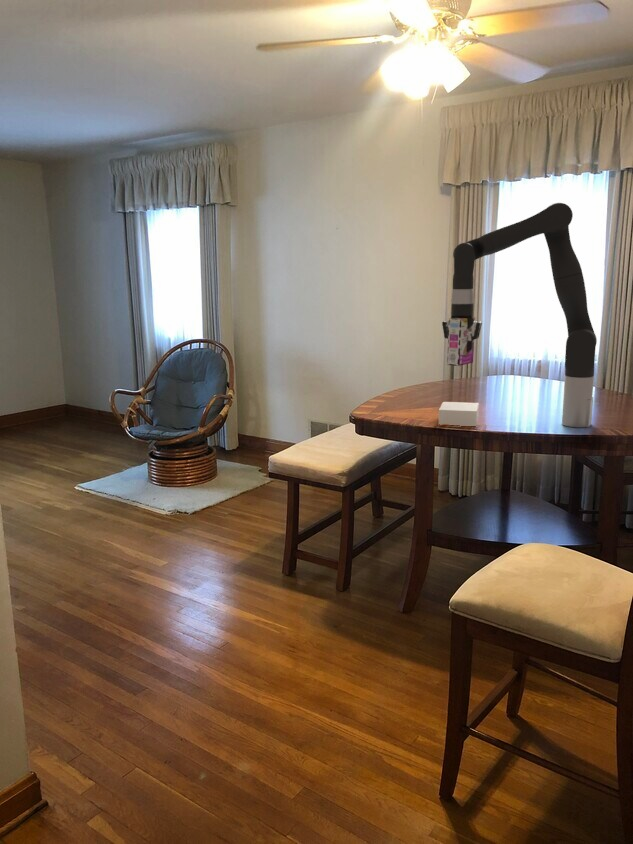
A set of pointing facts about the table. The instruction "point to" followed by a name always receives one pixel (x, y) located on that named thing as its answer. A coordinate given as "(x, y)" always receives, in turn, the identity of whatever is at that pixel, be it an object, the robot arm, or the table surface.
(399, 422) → the table surface
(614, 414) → the table surface
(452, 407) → the white rectangular block
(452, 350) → the candy bar box
